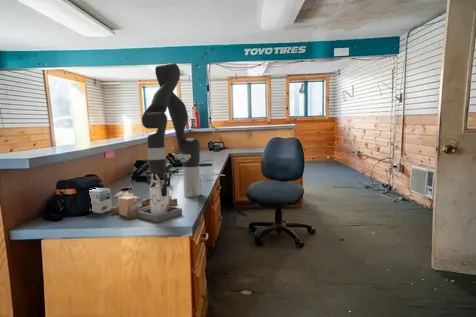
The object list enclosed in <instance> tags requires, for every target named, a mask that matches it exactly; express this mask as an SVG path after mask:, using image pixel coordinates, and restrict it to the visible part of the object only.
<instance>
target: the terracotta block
mask: <svg viewBox="0 0 476 317" xmlns="http://www.w3.org/2000/svg"><path fill="white" fill-rule="evenodd" d="M118 202H119V213H118V214H119V215H121V216H124V217H127V212H129V211H131V206H133V205H135V202H136V197H133V196H128V195H123V196H119V197H118Z"/></svg>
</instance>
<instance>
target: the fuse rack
mask: <svg viewBox="0 0 476 317" xmlns="http://www.w3.org/2000/svg"><path fill="white" fill-rule="evenodd" d="M142 198H143V197H141V196H138V197H135V205H133V206H131V211H129V212H127V216H126V217H127V220H131V219H134V218H138V211H141V210H145V209H148V208H151V205H150V197H148V198H143V199H142ZM168 198H169V206H173V207H175V206H177V205H178V198H172V195H169V196H168ZM110 212H111V213H110V214H111V215H116V214H120V213H119V201H118V202H116V206H114V207H112V208H111V210H110Z"/></svg>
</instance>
